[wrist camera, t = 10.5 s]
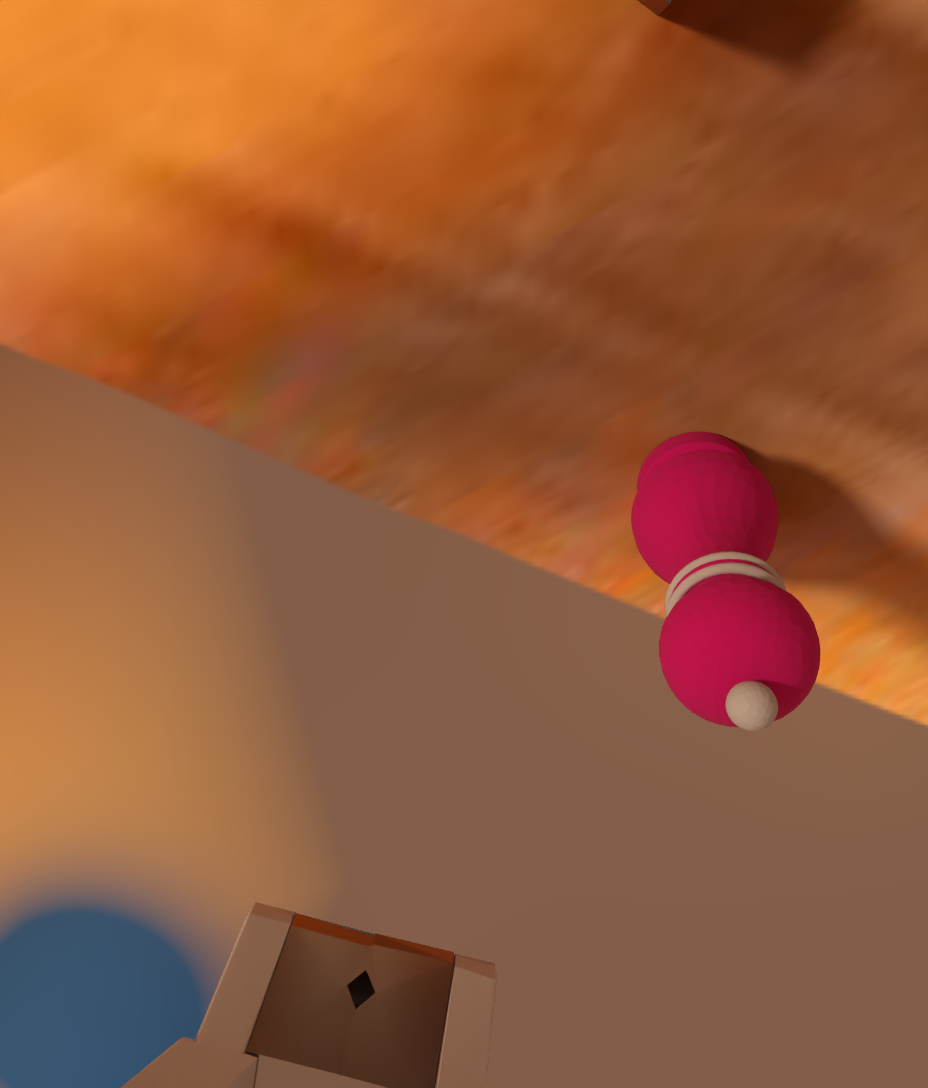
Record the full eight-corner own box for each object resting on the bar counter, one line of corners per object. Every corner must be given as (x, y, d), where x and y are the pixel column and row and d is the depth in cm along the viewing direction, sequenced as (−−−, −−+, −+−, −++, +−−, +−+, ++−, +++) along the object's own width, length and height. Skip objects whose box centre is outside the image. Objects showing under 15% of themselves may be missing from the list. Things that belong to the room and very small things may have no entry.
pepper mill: (777, 431, 44) (898, 655, 27) (742, 547, 47) (829, 812, 30) (641, 413, 44) (673, 621, 27) (617, 530, 48) (632, 780, 31)
